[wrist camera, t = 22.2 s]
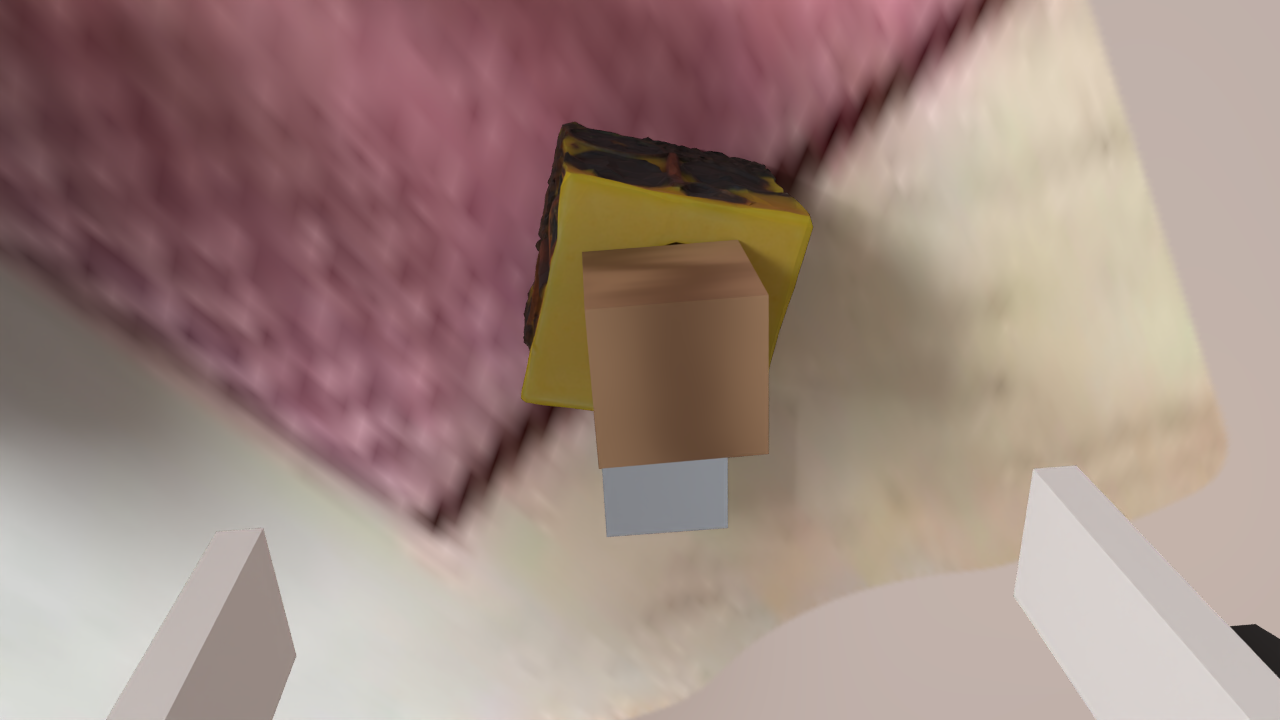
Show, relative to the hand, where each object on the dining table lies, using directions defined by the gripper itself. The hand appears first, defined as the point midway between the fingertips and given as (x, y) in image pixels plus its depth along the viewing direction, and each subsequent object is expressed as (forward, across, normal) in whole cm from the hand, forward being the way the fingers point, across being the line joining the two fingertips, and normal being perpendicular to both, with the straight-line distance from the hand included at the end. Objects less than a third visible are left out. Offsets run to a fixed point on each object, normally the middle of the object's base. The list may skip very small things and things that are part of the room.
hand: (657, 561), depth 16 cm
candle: (+31, +2, -4) cm, 31 cm away
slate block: (+31, +2, -14) cm, 34 cm away
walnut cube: (+21, +2, -4) cm, 21 cm away
